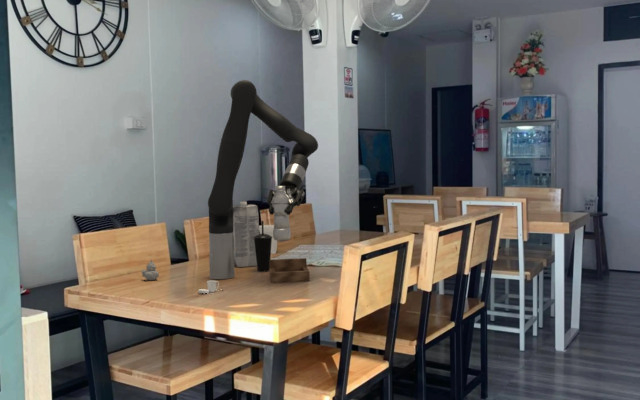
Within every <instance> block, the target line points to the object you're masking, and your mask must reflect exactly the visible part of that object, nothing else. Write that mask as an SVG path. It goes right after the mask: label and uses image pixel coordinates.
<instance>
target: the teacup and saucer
mask: <svg viewBox="0 0 640 400" xmlns="http://www.w3.org/2000/svg"><path fill="white" fill-rule="evenodd" d="M219 285H220V282H219V281H217V280H216V279H214V280H213V279H211V280H210V279H209V280H207V281H206V287H207V289H205V288H200V289H198V290H197V292H198V293H199V294H202V293H203V294H202V295H206V294H205V293H207V294H210V293H216V291H218V290H217V289H219ZM220 290H222V288H221V289H220Z"/></svg>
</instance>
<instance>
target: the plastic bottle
mask: <svg viewBox="0 0 640 400" xmlns="http://www.w3.org/2000/svg"><path fill="white" fill-rule="evenodd" d="M274 191H276V194H275V195H274V197H273V199H272V205H273V211H274V213H273V225H274V229H273V238H274V240H276V241H277V242H281V243H282V242H286V241H289V240H290V239H291V236H292V232H291V231H292V230H291V225H290V217H289V216H290V215H287V213H286V209H287V207H288V205H289V204H290V199H289V197H288V196H287V194H286V193H285V191H286V190H285V186H280V185H275V186H274Z"/></svg>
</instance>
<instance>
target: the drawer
mask: <svg viewBox="0 0 640 400" xmlns="http://www.w3.org/2000/svg"><path fill="white" fill-rule="evenodd" d="M269 279H270V283H272V284H273V283H296V282H297V283H298V282H310V270H309V268H308V267H307V258H305V257H300V258H270V270H269Z"/></svg>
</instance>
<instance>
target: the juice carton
mask: <svg viewBox="0 0 640 400" xmlns="http://www.w3.org/2000/svg"><path fill="white" fill-rule="evenodd" d="M259 216H260V215H259V206H258V205H256V204H253V203H250V204H248V202H247V201H239V204H233V233H234V266H236V267H238V268H248V267H250V268H251V267H257V261H256V252H255V242H254V238H253V237H254V236H256V235H258V234H260V231H259V226H260V224H259V223H260V221H259V218H260V217H259Z"/></svg>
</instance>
